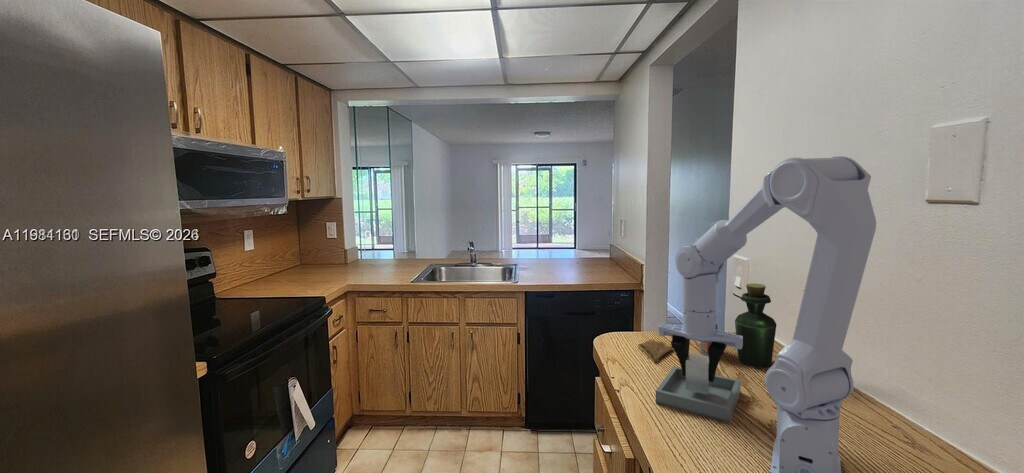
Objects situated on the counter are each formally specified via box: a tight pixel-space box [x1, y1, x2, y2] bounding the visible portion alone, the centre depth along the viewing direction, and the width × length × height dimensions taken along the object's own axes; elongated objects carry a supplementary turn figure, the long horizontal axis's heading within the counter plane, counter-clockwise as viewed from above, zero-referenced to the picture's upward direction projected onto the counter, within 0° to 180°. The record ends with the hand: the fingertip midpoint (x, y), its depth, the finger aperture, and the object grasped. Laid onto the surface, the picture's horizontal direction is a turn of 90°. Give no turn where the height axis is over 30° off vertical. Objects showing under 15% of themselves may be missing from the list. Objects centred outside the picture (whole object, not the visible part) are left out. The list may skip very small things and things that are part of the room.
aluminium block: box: [686, 352, 713, 395], centre depth 78 cm, size 4×4×6 cm
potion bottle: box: [734, 283, 777, 369], centre depth 92 cm, size 8×8×18 cm
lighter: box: [698, 323, 719, 356], centre depth 99 cm, size 8×3×10 cm, turn 168°
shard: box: [637, 339, 674, 363], centre depth 101 cm, size 11×8×2 cm
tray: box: [655, 366, 742, 424], centre depth 78 cm, size 13×13×2 cm
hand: (698, 376), depth 78 cm, fingers closed on aluminium block, 4 cm apart
